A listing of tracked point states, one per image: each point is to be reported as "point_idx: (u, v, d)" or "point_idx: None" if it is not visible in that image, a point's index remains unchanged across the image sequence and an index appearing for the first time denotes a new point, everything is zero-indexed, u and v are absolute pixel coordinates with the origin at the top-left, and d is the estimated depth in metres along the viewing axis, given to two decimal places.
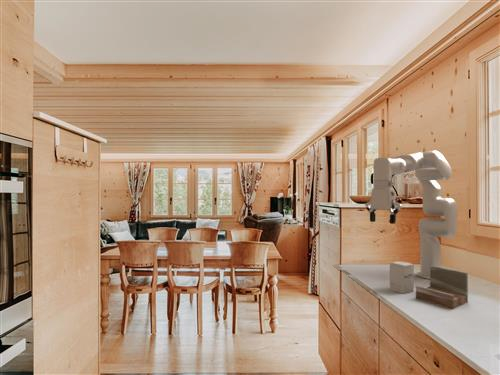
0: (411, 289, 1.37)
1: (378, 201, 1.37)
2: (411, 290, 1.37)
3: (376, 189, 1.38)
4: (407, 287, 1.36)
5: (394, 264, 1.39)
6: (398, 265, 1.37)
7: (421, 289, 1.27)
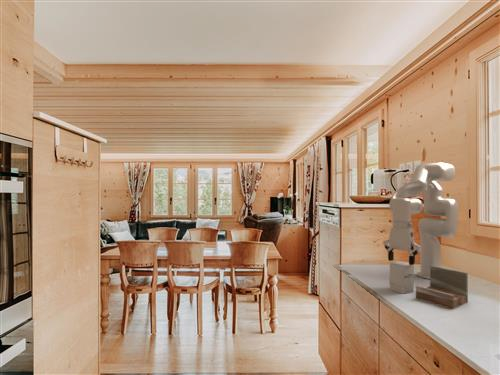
0: (411, 289, 1.37)
1: (397, 241, 1.39)
2: (411, 290, 1.37)
3: (395, 229, 1.40)
4: (407, 287, 1.36)
5: (394, 264, 1.39)
6: (398, 265, 1.37)
7: (421, 289, 1.27)
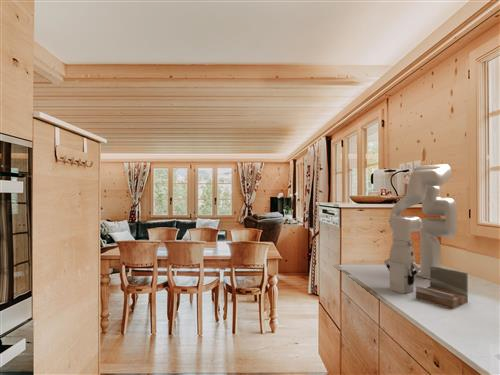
0: (411, 289, 1.37)
1: (397, 260, 1.39)
2: (411, 290, 1.37)
3: (395, 248, 1.40)
4: (407, 287, 1.36)
5: (394, 264, 1.39)
6: (398, 265, 1.37)
7: (421, 289, 1.27)
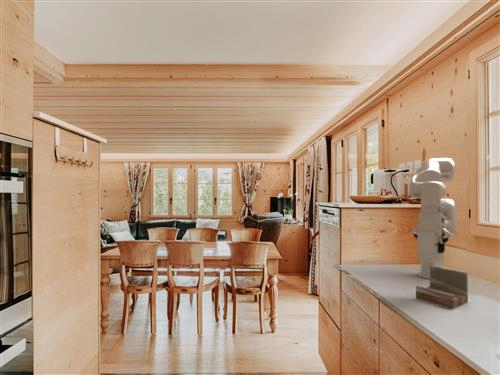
0: (441, 258, 1.28)
1: (426, 227, 1.30)
2: (441, 259, 1.28)
3: (424, 215, 1.31)
4: (437, 255, 1.27)
5: (423, 232, 1.30)
6: (427, 232, 1.29)
7: (421, 289, 1.27)
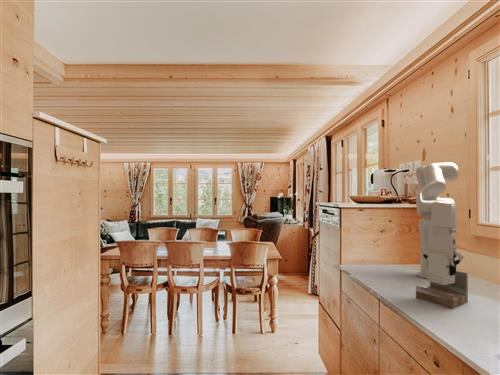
0: (452, 280, 1.25)
1: (437, 249, 1.27)
2: (452, 281, 1.25)
3: (434, 235, 1.28)
4: (448, 278, 1.24)
5: (433, 253, 1.27)
6: (438, 254, 1.25)
7: (421, 289, 1.27)
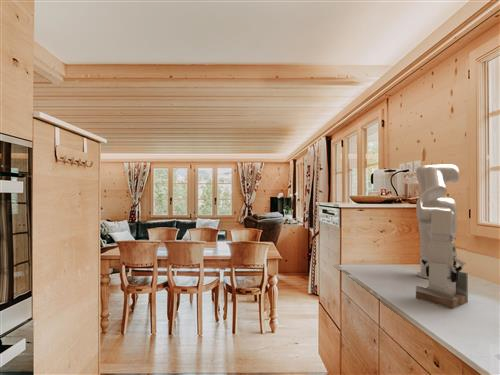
0: (453, 291, 1.25)
1: (437, 256, 1.27)
2: (453, 292, 1.25)
3: (434, 243, 1.28)
4: (449, 289, 1.24)
5: (434, 264, 1.27)
6: (439, 265, 1.25)
7: (421, 289, 1.27)
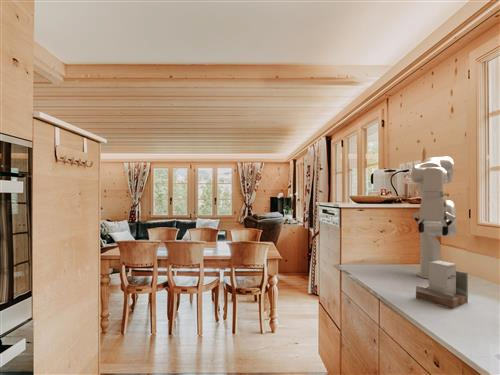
0: (453, 291, 1.25)
1: (429, 212, 1.34)
2: (453, 292, 1.25)
3: (426, 200, 1.34)
4: (449, 289, 1.24)
5: (434, 264, 1.27)
6: (440, 265, 1.25)
7: (421, 289, 1.27)
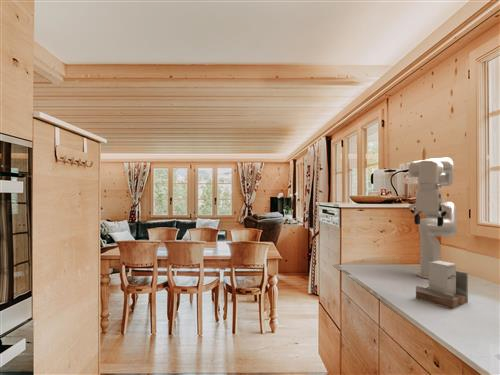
0: (453, 291, 1.25)
1: (424, 203, 1.37)
2: (453, 292, 1.25)
3: (422, 191, 1.38)
4: (449, 289, 1.24)
5: (434, 264, 1.27)
6: (440, 265, 1.25)
7: (421, 289, 1.27)
